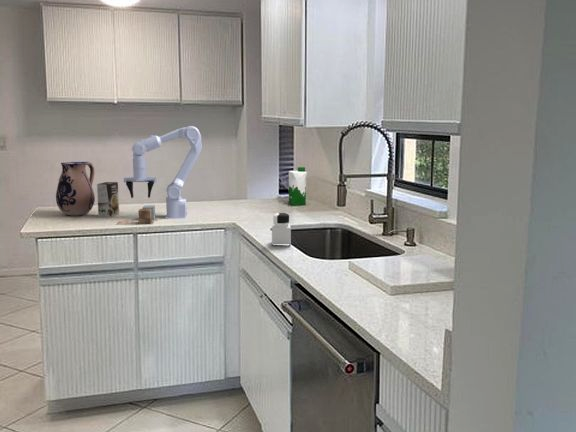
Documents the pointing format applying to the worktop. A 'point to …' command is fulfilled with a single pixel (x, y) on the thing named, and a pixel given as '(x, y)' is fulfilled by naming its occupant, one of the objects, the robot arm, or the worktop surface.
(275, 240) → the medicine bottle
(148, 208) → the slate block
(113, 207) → the coffee box
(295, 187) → the milk carton
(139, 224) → the rubber pad
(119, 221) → the code tile
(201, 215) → the worktop surface
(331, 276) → the worktop surface
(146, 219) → the walnut block
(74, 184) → the ceramic pitcher
